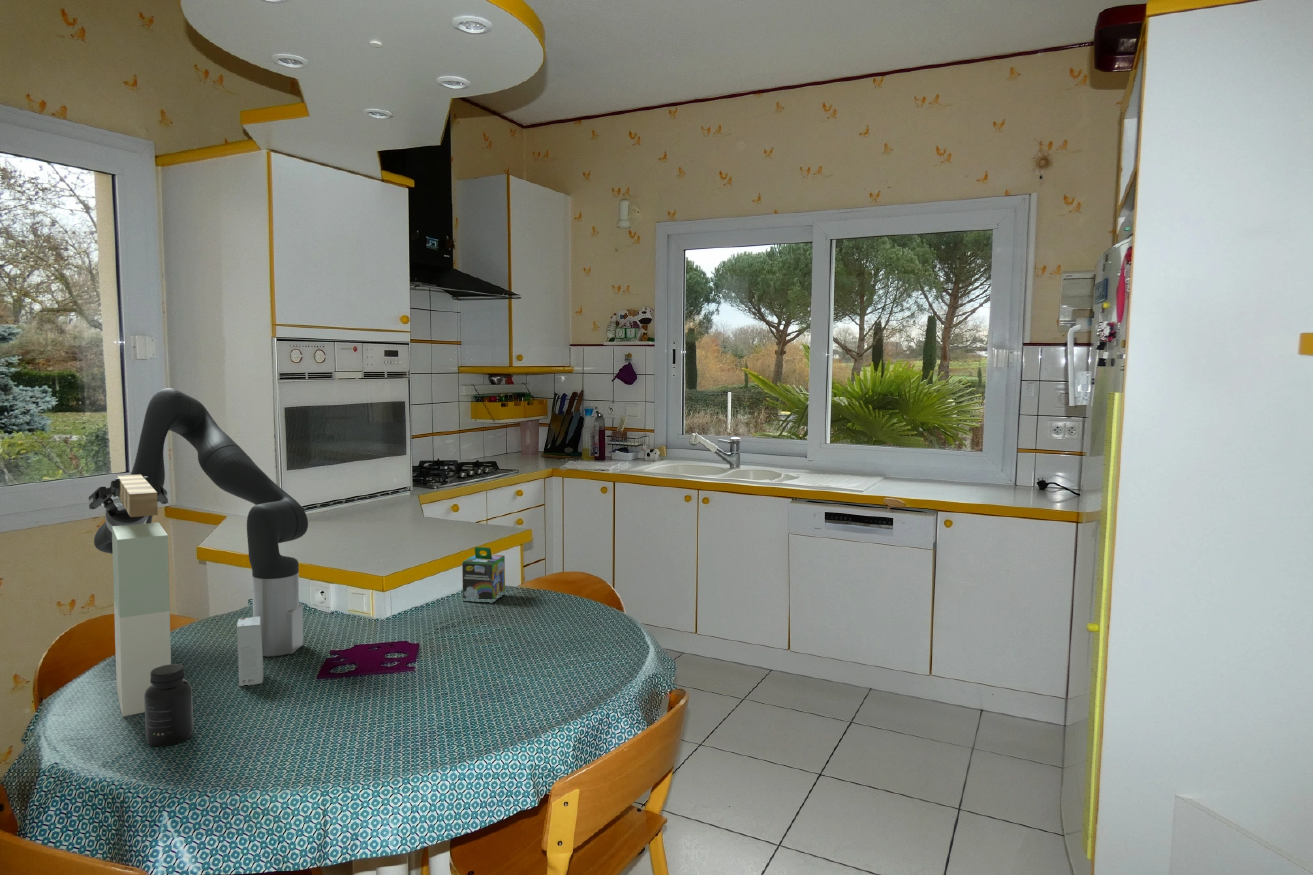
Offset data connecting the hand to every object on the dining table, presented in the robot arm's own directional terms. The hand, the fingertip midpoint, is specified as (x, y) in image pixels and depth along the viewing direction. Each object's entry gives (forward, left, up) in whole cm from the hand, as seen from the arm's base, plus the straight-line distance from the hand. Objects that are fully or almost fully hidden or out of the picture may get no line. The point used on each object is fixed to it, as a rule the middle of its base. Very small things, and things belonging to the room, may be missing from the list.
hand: (132, 481), depth 151 cm
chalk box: (-59, -57, -40) cm, 92 cm away
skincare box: (-22, +1, -40) cm, 46 cm away
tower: (-7, +10, -40) cm, 41 cm away
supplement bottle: (-20, +26, -40) cm, 51 cm away
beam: (-4, +6, -3) cm, 8 cm away
